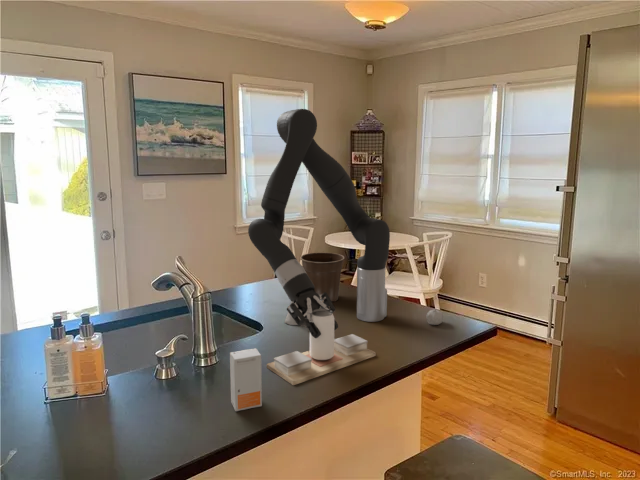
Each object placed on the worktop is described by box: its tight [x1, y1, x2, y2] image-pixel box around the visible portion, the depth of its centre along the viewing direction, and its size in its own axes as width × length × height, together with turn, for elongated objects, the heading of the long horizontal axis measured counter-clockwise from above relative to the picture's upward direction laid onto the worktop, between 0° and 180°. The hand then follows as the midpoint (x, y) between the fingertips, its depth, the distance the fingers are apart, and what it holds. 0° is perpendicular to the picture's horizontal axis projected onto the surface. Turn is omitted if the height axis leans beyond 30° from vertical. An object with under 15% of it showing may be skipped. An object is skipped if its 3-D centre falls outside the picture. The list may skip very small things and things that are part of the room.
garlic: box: [425, 308, 444, 326], centre depth 153 cm, size 6×5×5 cm
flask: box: [283, 300, 301, 326], centre depth 155 cm, size 7×7×10 cm
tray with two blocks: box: [266, 333, 377, 386], centre depth 126 cm, size 27×12×4 cm, turn 128°
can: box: [309, 308, 335, 361], centre depth 125 cm, size 6×6×12 cm
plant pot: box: [300, 251, 345, 303], centre depth 178 cm, size 16×16×16 cm
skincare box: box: [229, 347, 263, 412], centre depth 104 cm, size 6×4×12 cm
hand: (327, 332), depth 124 cm, fingers open, 6 cm apart
